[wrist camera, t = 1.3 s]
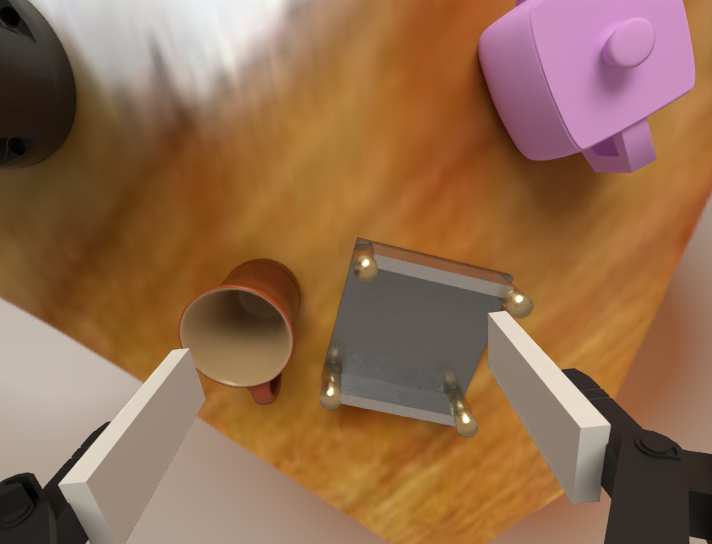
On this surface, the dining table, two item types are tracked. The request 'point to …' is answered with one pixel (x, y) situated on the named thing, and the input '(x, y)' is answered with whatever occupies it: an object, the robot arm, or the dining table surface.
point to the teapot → (587, 76)
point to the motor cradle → (413, 333)
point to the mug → (244, 328)
